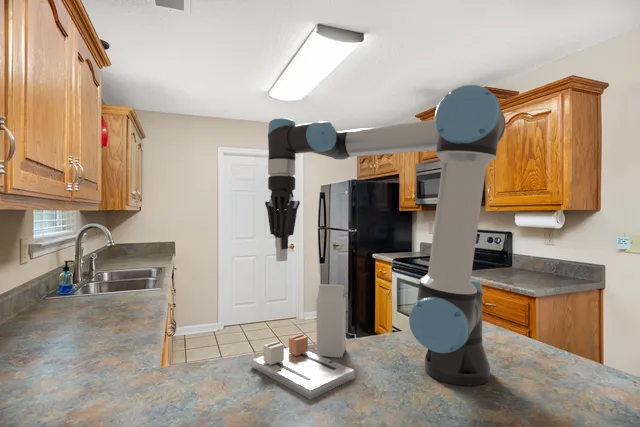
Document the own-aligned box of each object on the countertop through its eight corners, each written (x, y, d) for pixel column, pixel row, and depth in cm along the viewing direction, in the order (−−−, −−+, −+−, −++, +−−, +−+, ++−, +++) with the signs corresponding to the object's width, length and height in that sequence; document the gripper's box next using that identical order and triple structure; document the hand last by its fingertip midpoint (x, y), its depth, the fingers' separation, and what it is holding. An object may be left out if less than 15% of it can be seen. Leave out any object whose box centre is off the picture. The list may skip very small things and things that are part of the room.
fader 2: (307, 351, 96) (307, 335, 96) (296, 355, 94) (296, 339, 94) (300, 348, 99) (300, 332, 99) (288, 352, 96) (288, 336, 96)
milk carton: (342, 358, 98) (342, 288, 98) (316, 356, 99) (316, 286, 99) (345, 348, 105) (345, 283, 105) (321, 346, 106) (321, 282, 106)
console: (354, 378, 86) (354, 369, 86) (310, 399, 76) (310, 389, 76) (295, 352, 102) (294, 345, 102) (252, 367, 92) (252, 359, 92)
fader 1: (283, 360, 91) (283, 343, 91) (270, 364, 88) (270, 347, 88) (276, 356, 93) (276, 340, 93) (263, 361, 90) (263, 343, 90)
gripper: (307, 175, 99) (307, 261, 99) (278, 178, 108) (278, 257, 109) (285, 173, 94) (285, 264, 94) (257, 176, 103) (257, 259, 103)
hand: (281, 260), depth 101 cm, fingers closed
